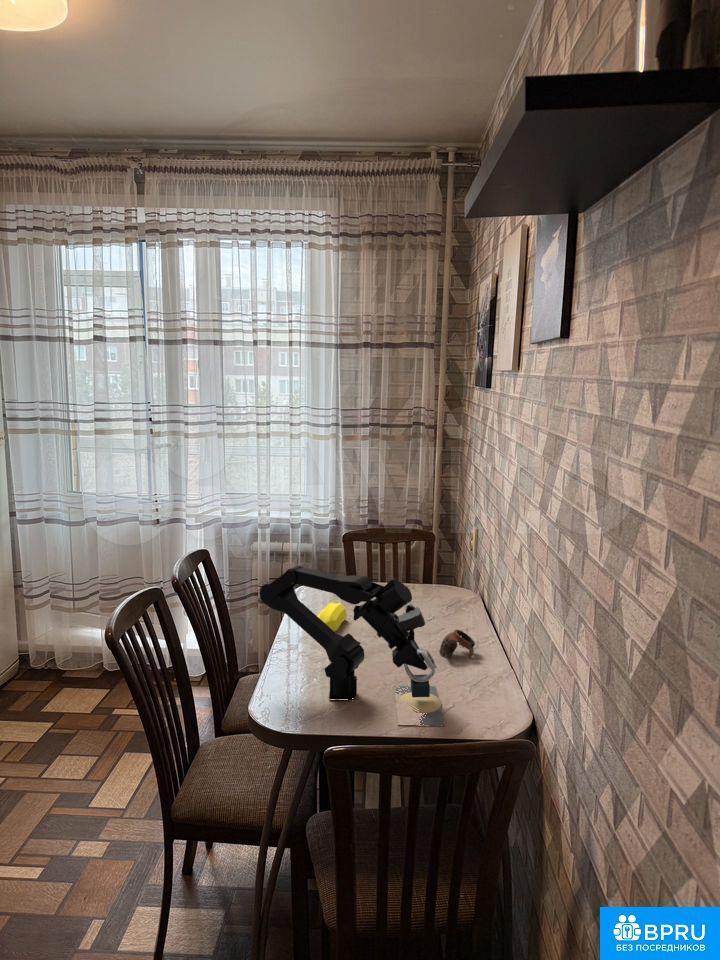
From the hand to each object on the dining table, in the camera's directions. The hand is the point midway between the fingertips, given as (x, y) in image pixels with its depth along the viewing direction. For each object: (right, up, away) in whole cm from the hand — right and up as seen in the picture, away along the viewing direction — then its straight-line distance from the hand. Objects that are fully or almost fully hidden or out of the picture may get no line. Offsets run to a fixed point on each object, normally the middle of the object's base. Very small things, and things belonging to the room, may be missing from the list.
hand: (425, 664), depth 163 cm
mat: (-2, -10, 0) cm, 10 cm away
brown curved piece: (+12, -6, +31) cm, 34 cm away
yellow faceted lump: (-26, -3, +53) cm, 59 cm away
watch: (-1, -7, +1) cm, 7 cm away
